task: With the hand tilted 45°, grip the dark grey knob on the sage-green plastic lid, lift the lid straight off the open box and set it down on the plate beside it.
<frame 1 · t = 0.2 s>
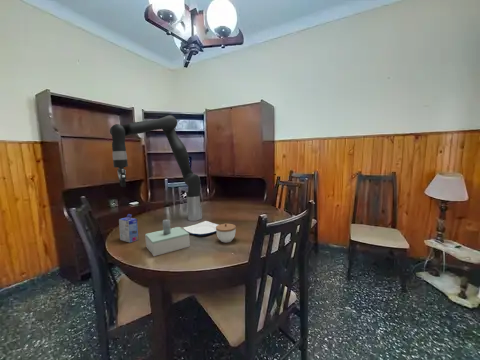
hand: (122, 186, 137), 29 cm above the table, tool pointing down, fingers open, 8 cm apart
lidded jar: (226, 240, 124), on the table
ink cartridge box: (129, 240, 129), on the table
plate: (203, 231, 142), on the table
open box: (167, 246, 118), on the table
lid: (167, 237, 117), point 5 cm above the table, touching open box
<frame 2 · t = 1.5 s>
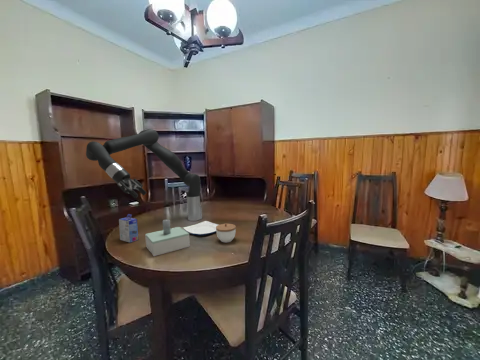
hand: (141, 195, 117), 27 cm above the table, tool tilted 45°, fingers open, 8 cm apart
nothing on the table moved.
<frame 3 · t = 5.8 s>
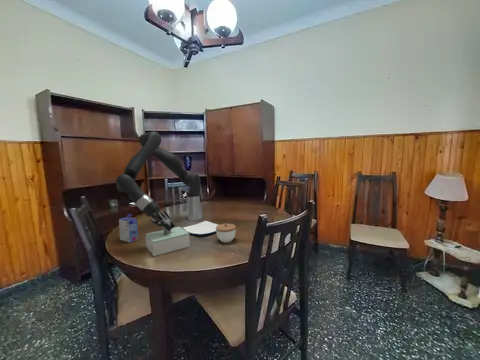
hand: (172, 228, 117), 10 cm above the table, tool tilted 45°, fingers closed on lid, 3 cm apart
lid: (167, 237, 118), point 5 cm above the table, touching gripper, open box
everything else where it was.
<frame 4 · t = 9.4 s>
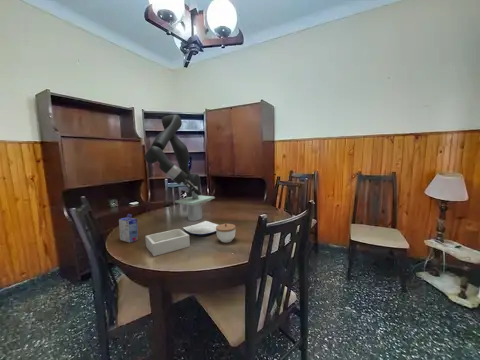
hand: (199, 193, 134), 24 cm above the table, tool tilted 45°, fingers closed on lid, 3 cm apart
lid: (195, 202, 134), point 19 cm above the table, touching gripper
everything else where it was.
when the fingers open (9 cm above the table, at t = 13.1 s): lid drops 3 cm, resting on plate.
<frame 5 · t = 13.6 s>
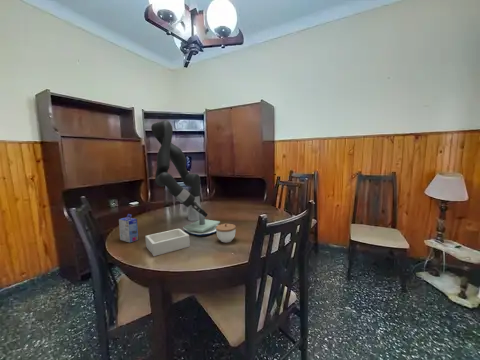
hand: (205, 214, 141), 10 cm above the table, tool tilted 45°, fingers open, 8 cm apart
plate: (203, 231, 142), on the table, touching lid
lid: (202, 227, 141), point 2 cm above the table, touching plate
everything else where it was.
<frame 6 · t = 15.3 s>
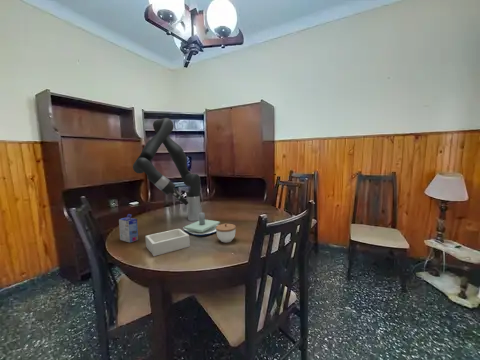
hand: (186, 202, 136), 19 cm above the table, tool tilted 45°, fingers open, 8 cm apart
nothing on the table moved.
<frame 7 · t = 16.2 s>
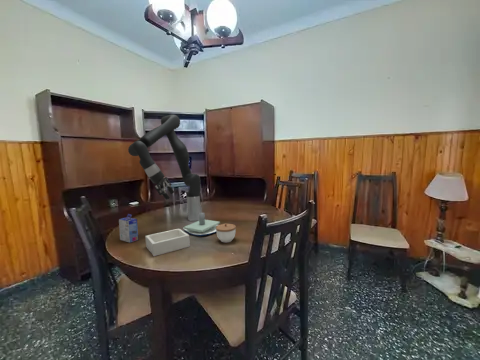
hand: (170, 195, 136), 23 cm above the table, tool tilted 30°, fingers open, 8 cm apart
nothing on the table moved.
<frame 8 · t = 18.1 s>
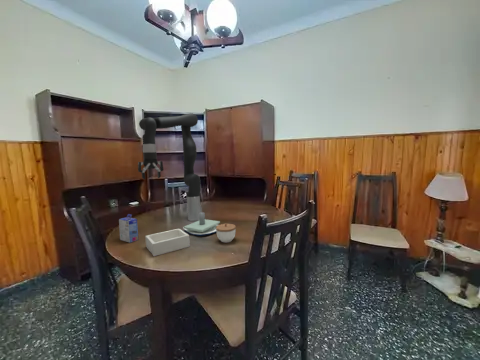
hand: (151, 178, 140), 33 cm above the table, tool pointing down, fingers open, 8 cm apart
nothing on the table moved.
at the end: lid inside the target area on the plate (0.7 cm from its centre), point 2.9 cm above the plate's base; the gripper is holding nothing; lid tilted 0° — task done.
